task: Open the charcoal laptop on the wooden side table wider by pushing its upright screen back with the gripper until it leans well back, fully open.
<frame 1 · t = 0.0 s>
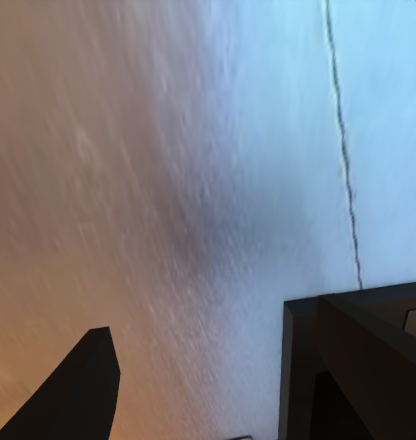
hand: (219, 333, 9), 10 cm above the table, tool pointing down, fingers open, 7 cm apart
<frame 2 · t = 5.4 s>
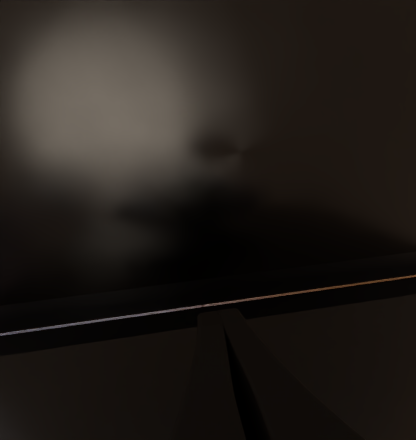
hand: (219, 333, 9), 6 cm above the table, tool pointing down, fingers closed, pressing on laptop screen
laptop: (228, 95, 12), on the table
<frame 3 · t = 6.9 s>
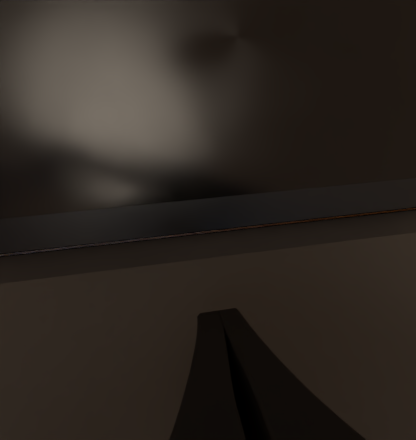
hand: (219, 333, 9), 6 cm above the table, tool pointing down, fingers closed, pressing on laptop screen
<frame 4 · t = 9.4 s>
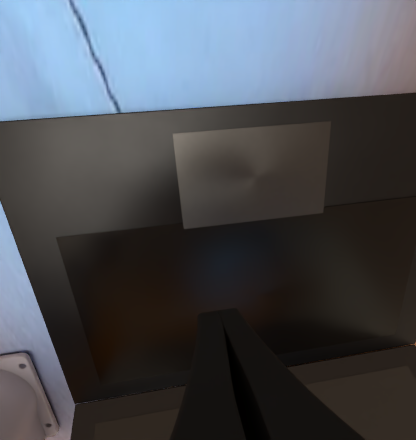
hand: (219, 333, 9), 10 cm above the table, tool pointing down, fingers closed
laptop: (248, 253, 20), on the table
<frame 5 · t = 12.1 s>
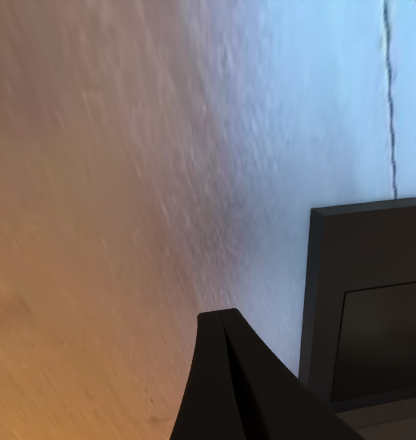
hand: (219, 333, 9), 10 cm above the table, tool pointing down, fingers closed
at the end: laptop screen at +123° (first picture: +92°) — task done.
